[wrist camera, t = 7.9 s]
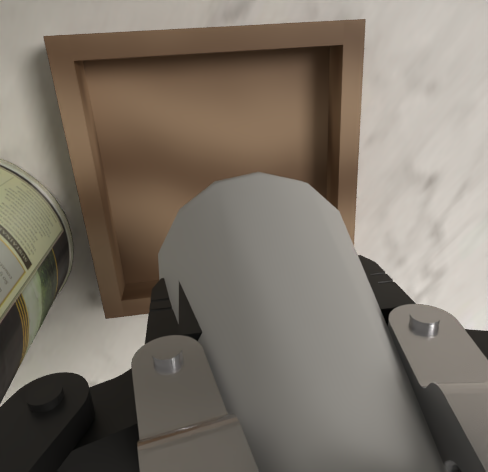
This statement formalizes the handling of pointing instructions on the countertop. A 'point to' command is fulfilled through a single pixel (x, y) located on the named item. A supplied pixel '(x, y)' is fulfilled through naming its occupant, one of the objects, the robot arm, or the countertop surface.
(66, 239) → the coffee can
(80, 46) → the walnut tray
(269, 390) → the salt shaker
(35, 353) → the countertop surface
